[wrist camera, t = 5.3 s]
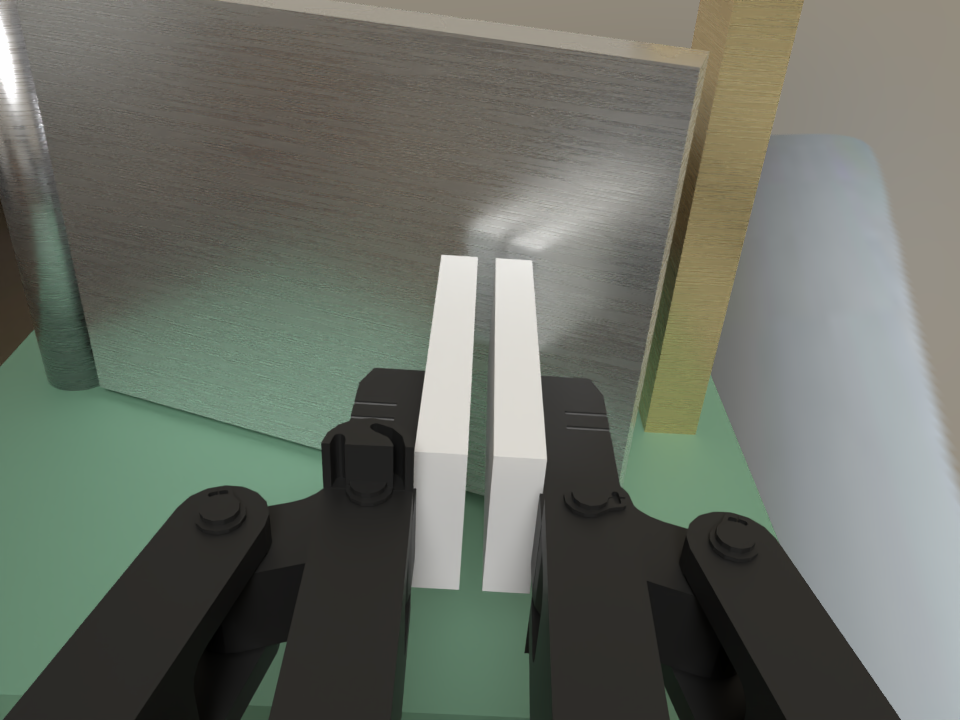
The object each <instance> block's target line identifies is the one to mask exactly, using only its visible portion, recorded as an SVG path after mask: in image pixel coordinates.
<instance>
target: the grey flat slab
mask: <svg viewBox="0 0 960 720" xmlns="http://www.w3.org/2000/svg"><path fill="white" fill-rule="evenodd" d="M16 4H17V9H18V13H19V18H20V22H21V27H22V32H23V36H24V41H25V45H26V50H27V55H28V59H29V64H30V68H31V73H32V77H33V82H34V87H35V91H36V96H37V100H38V105H39V109H40V114H41V119H42V123H43V128H44V132H45V137H46V141H47V146H48V151H49V155H50V160H51V164H52V169H53V173H54V178H55V183H56V187H57V192H58V196H59V201H60V205H61V210H62V215H63V219H64V224H65V228H66V233H67V238H68V242H69V247H70V251H71V256H72V260H73V265H74V270H75V274H76V279H77V283H78V288H79V292H80V297H81V302H82V306H83V311H84V315H85V320H86V324H87V329H88V334H89V338H90V343H91V347H92V352H93V356H94V361H95V366H96V370H97V375H98V379H99V384H100V387H102V388H106V389H109V390H113V391H116V392H120V393H123V394H127V395H130V396H134V397H137V398H141V399H145V400H148V401H152V402H155V403H159V404H162V405H166V406H169V407H173V408H176V409H180V410H183V411H187V412H190V413H194V414H197V415H201V416H204V417H208V418H211V419H215V420H218V421H222V422H225V423H229V424H232V425H236V426H239V427H243V428H246V429H250V430H254V431H257V432H261V433H264V434H268V435H271V436H275V437H278V438H282V439H285V440H289V441H292V442H296V443H299V444H303V445H306V446H310V447H313V448H317V449H320V450H321V442H322V441H323V439H324V437H325V436H326V434H327V432H329V431H330V430H332V429H333V428H335V427H336V426H337V425H339V424H341V423H345V422H348V421H349V420H350V419H351V412H352V408H353V404H354V401H355V397H356V393H357V389H358V385H359V382H360V381H361V380H362V379H363V378H364V377H365V376H366V375H367V374H368V373H370V372H371V371H372V370H373V369H374V368H389V369H405V370H422V371H426V363H427V356H428V349H429V342H430V334H431V327H432V320H433V313H434V305H435V298H436V291H437V284H438V276H439V269H440V262H441V255H453V256H469V257H478V265H477V284H476V304H475V323H474V343H473V363H472V382H471V402H470V421H469V441H468V459H467V475H466V490H465V491H468V492H472V493H475V494H479V495H482V496H484V491H485V449H486V407H487V367H488V354H489V341H490V328H491V314H492V301H493V288H494V275H495V261H496V258H502V259H518V260H532V266H533V279H534V292H535V306H536V319H537V332H538V346H539V359H540V372H541V376H554V377H571V378H587V379H590V380H591V381H592V382H593V384H594V385H595V386H596V387H597V388H598V390H599V391H600V392H601V393H602V394H603V395H604V401H605V406H606V412H607V417H608V423H609V428H610V429H609V432H610V433H611V439H612V444H613V450H614V455H615V460H616V466H617V471H618V477H619V482H620V486H621V487H622V488H623V483H624V478H625V473H626V468H627V463H628V458H629V453H630V448H631V443H632V438H633V433H634V428H635V423H636V418H637V413H638V408H639V403H640V398H641V393H642V388H643V383H644V378H645V373H646V368H647V363H648V358H649V353H650V348H651V343H652V338H653V333H654V328H655V323H656V318H657V313H658V308H659V303H660V298H661V293H662V288H663V283H664V278H665V273H666V268H667V263H668V258H669V253H670V248H671V243H672V238H673V233H674V228H675V223H676V218H677V213H678V208H679V203H680V198H681V193H682V188H683V183H684V178H685V173H686V168H687V163H688V158H689V153H690V148H691V143H692V138H693V133H694V128H695V123H696V118H697V113H698V108H699V103H700V97H701V92H702V87H703V82H704V77H705V72H706V67H707V62H708V57H709V52H710V51H705V50H698V49H690V48H682V47H675V46H668V45H660V44H653V43H645V42H637V41H630V40H623V39H615V38H608V37H600V36H593V35H585V34H578V33H570V32H563V31H556V30H548V29H541V28H533V27H525V26H519V25H511V24H504V23H496V22H488V21H481V20H474V19H466V18H459V17H451V16H444V15H436V14H429V13H421V12H413V11H407V10H399V9H391V8H384V7H377V6H369V5H362V4H354V3H346V2H339V1H331V0H16Z"/></svg>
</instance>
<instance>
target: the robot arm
mask: <svg viewBox="0 0 960 720" xmlns="http://www.w3.org/2000/svg"><path fill="white" fill-rule="evenodd" d="M477 265H478V257H469V256H453V255H441V262H440V269H439V276H438V284H437V291H436V298H435V305H434V313H433V320H432V327H431V334H430V342H429V349H428V356H427V363H426V371H422V370H405V369H389V368H374V369H373V370H372V371H371V372H370V373H368V374H367V375H366V376H365V377H364V378H363V379H362V380H361V381H360V382H359V385H358V389H357V393H356V397H355V401H354V404H353V408H352V412H351V419H350V420H349V421H348V422H345V423H341V424H339V425H337V426H336V427H335V428H333V429H332V430H330V431H329V432H327V434H326V436H325V437H324V439H323V441H322V442H321V453H322V472H323V489H321V490H320V491H319V492H317V493H316V494H313V495H311V496H309V497H307V498H304V499H301V500H297V501H293V502H289V503H283V504H277V505H272V506H268V505H267V501H266V500H265V499H264V498H263V497H262V496H261V495H260V494H259V493H258V492H256V491H253V490H251V489H248V488H246V487H243V486H230V485H224V486H218V487H213V488H207V489H205V490H203V491H200V492H198V493H196V494H194V495H191V496H190V497H189V498H187V499H186V500H185V501H184V502H183V503H182V504H180V505H179V506H178V507H177V508H176V510H175V511H174V512H173V513H172V514H171V516H170V517H169V518H168V519H167V521H166V522H165V523H164V524H163V525H162V527H161V528H160V529H159V530H158V531H157V533H156V534H155V535H154V536H153V538H152V539H151V540H150V541H149V542H148V544H147V545H146V546H145V547H144V548H143V550H142V551H141V552H140V553H139V555H138V556H137V557H136V558H135V559H134V561H133V562H132V563H131V564H130V566H129V567H128V568H127V569H126V570H125V572H124V573H123V574H122V575H121V576H120V578H119V579H118V580H117V581H116V583H115V584H114V585H113V586H112V587H111V589H110V590H109V591H108V592H107V593H106V595H105V596H104V597H103V598H102V600H101V601H100V602H99V603H98V604H97V606H96V607H95V608H94V609H93V610H92V612H91V613H90V614H89V615H88V617H87V618H86V619H85V620H84V621H83V623H82V624H81V625H80V626H79V628H78V629H77V630H76V631H75V632H74V634H73V635H72V636H71V637H70V638H69V640H68V641H67V642H66V643H65V645H64V646H63V647H62V648H61V649H60V651H59V652H58V653H57V654H56V655H55V657H54V658H53V659H52V660H51V662H50V663H49V664H48V665H47V666H46V668H45V669H44V670H43V671H42V672H41V674H40V675H39V676H38V677H37V679H36V680H35V681H34V682H33V683H32V685H31V686H30V687H29V688H28V690H27V691H26V692H25V693H24V694H23V696H22V697H21V698H20V699H19V700H18V702H17V703H16V704H15V705H14V707H13V708H12V709H11V710H10V711H9V713H8V714H7V715H6V716H5V717H4V719H3V720H241V718H242V716H243V714H244V712H245V710H246V709H247V707H248V705H249V703H250V701H251V699H252V698H253V696H254V694H255V692H256V690H257V689H258V687H259V685H260V683H261V681H262V679H263V678H264V676H265V674H266V672H267V670H268V669H269V667H270V665H271V663H272V661H273V659H274V658H275V656H276V654H277V652H278V649H279V646H280V643H283V642H287V643H286V647H285V652H284V656H283V660H282V664H281V669H280V673H279V677H278V681H277V685H276V690H275V694H274V698H273V702H272V707H271V711H270V715H269V719H268V720H401V717H402V705H403V694H404V682H405V671H406V659H407V648H408V636H409V624H410V610H411V587H419V588H437V589H454V590H459V582H460V567H461V551H462V536H463V521H464V505H465V490H466V475H467V459H468V441H469V421H470V402H471V382H472V363H473V343H474V323H475V304H476V284H477ZM609 429H610V428H609V423H608V417H607V412H606V406H605V401H604V395H603V394H602V393H601V392H600V391H599V390H598V388H597V387H596V386H595V385H594V384H593V382H592V381H591V380H590V379H587V378H571V377H554V376H541V372H540V359H539V346H538V332H537V319H536V306H535V292H534V279H533V266H532V260H518V259H502V258H496V261H495V275H494V288H493V301H492V314H491V328H490V341H489V354H488V367H487V407H486V449H485V491H484V533H483V575H482V591H491V592H509V593H527V594H530V587H531V580H532V599H531V607H530V614H529V622H528V629H527V637H526V645H525V652H524V653H528V654H529V697H530V720H670V717H669V711H668V705H667V699H666V693H665V689H666V691H667V693H668V695H669V698H670V700H671V702H672V704H673V707H674V709H675V711H676V713H677V716H678V718H679V720H901V719H900V718H899V716H898V715H897V713H896V712H895V710H894V709H893V707H892V706H891V705H890V703H889V702H888V700H887V699H886V697H885V696H884V694H883V693H882V691H881V690H880V689H879V687H878V686H877V684H876V683H875V681H874V680H873V678H872V677H871V676H870V674H869V673H868V671H867V670H866V668H865V667H864V665H863V664H862V662H861V661H860V660H859V658H858V657H857V655H856V654H855V652H854V651H853V649H852V648H851V647H850V645H849V644H848V642H847V641H846V639H845V638H844V636H843V635H842V634H841V632H840V631H839V629H838V628H837V626H836V625H835V623H834V622H833V620H832V619H831V618H830V616H829V615H828V613H827V612H826V610H825V609H824V607H823V606H822V605H821V603H820V602H819V600H818V599H817V597H816V596H815V594H814V593H813V591H812V590H811V589H810V587H809V586H808V584H807V583H806V581H805V580H804V578H803V577H802V576H801V574H800V573H799V571H798V570H797V568H796V567H795V565H794V564H793V563H792V561H791V560H790V558H789V557H788V555H787V554H786V552H785V551H784V549H783V548H782V547H781V545H780V544H779V542H778V541H777V539H776V538H775V537H774V536H773V535H772V534H771V533H770V532H769V531H768V530H767V529H766V528H765V527H764V526H762V525H761V524H759V523H757V522H755V521H754V520H752V519H750V518H748V517H745V516H742V515H738V514H735V513H732V512H710V513H706V514H702V515H699V516H698V517H697V518H695V519H694V520H693V521H692V522H691V523H689V527H688V529H687V528H684V527H680V526H677V525H673V524H670V523H667V522H663V521H661V520H658V519H655V518H653V517H650V516H649V515H647V514H645V513H643V512H642V511H640V510H638V509H637V508H636V507H635V506H634V505H633V502H632V500H631V498H630V496H629V494H628V493H627V492H626V491H625V490H624V489H623V488H622V487H621V486H620V482H619V477H618V471H617V466H616V460H615V455H614V450H613V444H612V439H611V433H610V432H609ZM664 686H665V687H664Z"/></svg>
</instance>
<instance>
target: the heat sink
mask: <svg viewBox="0 0 960 720" xmlns="http://www.w3.org/2000/svg"><path fill="white" fill-rule="evenodd" d="M803 2H804V0H700V5H699V10H698V16H697V21H696V26H695V31H694V37H693V42H692V47H691V49H698V50H705V51H710V52H709V57H708V62H707V67H706V72H705V77H704V82H703V87H702V92H701V97H700V103H699V108H698V113H697V118H696V123H695V128H694V133H693V138H692V143H691V148H690V153H689V158H688V163H687V168H686V173H685V178H684V183H683V188H682V193H681V198H680V203H679V208H678V213H677V218H676V223H675V228H674V233H673V238H672V243H671V248H670V253H669V258H668V263H667V268H666V273H665V278H664V283H663V288H662V293H661V298H660V303H659V308H658V313H657V318H656V323H655V328H654V333H653V338H652V343H651V348H650V353H649V358H648V363H647V368H646V373H645V378H644V383H643V388H642V393H641V398H640V403H639V408H638V409H639V413H640V417H641V421H642V425H643V429H644V432H651V433H669V434H688V435H695V434H696V430H697V426H698V422H699V418H700V414H701V410H702V406H703V402H704V398H705V394H706V390H707V386H708V382H709V378H710V374H711V370H712V366H713V362H714V358H715V354H716V350H717V346H718V342H719V338H720V334H721V330H722V326H723V322H724V318H725V314H726V310H727V306H728V302H729V298H730V294H731V290H732V286H733V282H734V278H735V274H736V270H737V266H738V262H739V258H740V254H741V250H742V246H743V242H744V238H745V234H746V230H747V226H748V222H749V218H750V214H751V210H752V206H753V202H754V198H755V194H756V190H757V186H758V182H759V178H760V174H761V170H762V166H763V162H764V158H765V154H766V150H767V146H768V142H769V138H770V134H771V130H772V126H773V122H774V118H775V114H776V110H777V106H778V102H779V98H780V94H781V90H782V86H783V82H784V78H785V74H786V70H787V65H788V61H789V58H790V54H791V50H792V46H793V42H794V38H795V34H796V30H797V25H798V22H799V18H800V14H801V10H802V6H803ZM0 199H1V203H2V206H3V210H4V214H5V218H6V222H7V226H8V230H9V234H10V237H11V241H12V245H13V249H14V253H15V257H16V261H17V265H18V268H19V272H20V276H21V280H22V284H23V288H24V292H25V296H26V299H27V303H28V307H29V311H30V315H31V319H32V323H33V327H34V330H35V334H36V338H37V342H38V346H39V350H40V354H41V358H42V361H43V365H44V369H45V373H46V377H47V380H48V383H49V384H50V385H51V386H53V387H54V388H57V389H60V390H65V391H82V390H88V389H92V388H95V387H98V386H100V384H99V379H98V375H97V370H96V366H95V361H94V356H93V352H92V347H91V343H90V338H89V334H88V329H87V324H86V320H85V315H84V311H83V306H82V302H81V297H80V292H79V288H78V283H77V279H76V274H75V270H74V265H73V260H72V256H71V251H70V247H69V242H68V238H67V233H66V228H65V224H64V219H63V215H62V210H61V205H60V201H59V196H58V192H57V187H56V183H55V178H54V173H53V169H52V164H51V160H50V155H49V151H48V146H47V141H46V137H45V132H44V128H43V123H42V119H41V114H40V109H39V105H38V100H37V96H36V91H35V87H34V82H33V77H32V73H31V68H30V64H29V59H28V55H27V50H26V45H25V41H24V36H23V32H22V27H21V22H20V18H19V13H18V9H17V4H16V0H0Z"/></svg>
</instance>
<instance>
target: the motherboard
mask: <svg viewBox="0 0 960 720" xmlns="http://www.w3.org/2000/svg"><path fill="white" fill-rule="evenodd" d="M224 485H230V486H243V487H246V488H248V489H251V490H253V491H256V492H258V493H259V494H260V495H261V496H262V497H263V498H264V499H265V500H266V501H267V505H268V506H272V505H277V504H283V503H289V502H293V501H297V500H301V499H304V498H307V497H309V496H311V495H313V494H316V493H317V492H319V491H320V490H321V489H323V472H322V453H321V450H320V449H317V448H313V447H310V446H306V445H303V444H299V443H296V442H292V441H289V440H285V439H282V438H278V437H275V436H271V435H268V434H264V433H261V432H257V431H254V430H250V429H246V428H243V427H239V426H236V425H232V424H229V423H225V422H222V421H218V420H215V419H211V418H208V417H204V416H201V415H197V414H194V413H190V412H187V411H183V410H180V409H176V408H173V407H169V406H166V405H162V404H159V403H155V402H152V401H148V400H145V399H141V398H137V397H134V396H130V395H127V394H123V393H120V392H116V391H113V390H109V389H106V388H102V387H100V386H98V387H95V388H92V389H88V390H82V391H65V390H60V389H57V388H54V387H53V386H51V385H50V384H49V383H48V380H47V377H46V373H45V369H44V365H43V361H42V358H41V354H40V350H39V346H38V342H37V338H36V334H35V330H33V331H32V332H31V333H30V335H29V336H28V337H27V338H26V339H25V340H24V341H23V342H22V343H21V344H20V346H19V347H18V348H17V349H16V350H15V351H14V352H13V353H12V354H11V356H10V357H9V358H8V359H7V360H6V361H5V362H4V363H3V364H2V366H1V367H0V720H3V719H4V717H5V716H6V715H7V714H8V713H9V711H10V710H11V709H12V708H13V707H14V705H15V704H16V703H17V702H18V700H19V699H20V698H21V697H22V696H23V694H24V693H25V692H26V691H27V690H28V688H29V687H30V686H31V685H32V683H33V682H34V681H35V680H36V679H37V677H38V676H39V675H40V674H41V672H42V671H43V670H44V669H45V668H46V666H47V665H48V664H49V663H50V662H51V660H52V659H53V658H54V657H55V655H56V654H57V653H58V652H59V651H60V649H61V648H62V647H63V646H64V645H65V643H66V642H67V641H68V640H69V638H70V637H71V636H72V635H73V634H74V632H75V631H76V630H77V629H78V628H79V626H80V625H81V624H82V623H83V621H84V620H85V619H86V618H87V617H88V615H89V614H90V613H91V612H92V610H93V609H94V608H95V607H96V606H97V604H98V603H99V602H100V601H101V600H102V598H103V597H104V596H105V595H106V593H107V592H108V591H109V590H110V589H111V587H112V586H113V585H114V584H115V583H116V581H117V580H118V579H119V578H120V576H121V575H122V574H123V573H124V572H125V570H126V569H127V568H128V567H129V566H130V564H131V563H132V562H133V561H134V559H135V558H136V557H137V556H138V555H139V553H140V552H141V551H142V550H143V548H144V547H145V546H146V545H147V544H148V542H149V541H150V540H151V539H152V538H153V536H154V535H155V534H156V533H157V531H158V530H159V529H160V528H161V527H162V525H163V524H164V523H165V522H166V521H167V519H168V518H169V517H170V516H171V514H172V513H173V512H174V511H175V510H176V508H177V507H178V506H179V505H180V504H182V503H183V502H184V501H185V500H186V499H187V498H189V497H190V496H191V495H194V494H196V493H198V492H200V491H203V490H205V489H207V488H213V487H218V486H224ZM623 489H624V490H625V491H626V492H627V493H628V494H629V496H630V498H631V500H632V502H633V505H634V506H635V507H636V508H637V509H638V510H640V511H642V512H643V513H645V514H647V515H649V516H650V517H653V518H655V519H658V520H661V521H663V522H667V523H670V524H673V525H677V526H680V527H684V528H687V529H688V527H689V523H691V522H692V521H693V520H694V519H695V518H697V517H698V516H699V515H702V514H706V513H710V512H732V513H735V514H738V515H742V516H745V517H748V518H750V519H752V520H754V521H755V522H757V523H759V524H761V525H762V526H764V527H765V528H766V529H767V530H768V531H769V532H770V533H771V534H772V535H773V536H774V537H775V538H776V539H777V536H776V534H775V531H774V529H773V526H772V524H771V522H770V519H769V517H768V514H767V512H766V509H765V507H764V504H763V502H762V500H761V497H760V495H759V492H758V490H757V487H756V485H755V482H754V480H753V478H752V475H751V473H750V470H749V468H748V465H747V463H746V460H745V458H744V456H743V453H742V451H741V448H740V446H739V443H738V441H737V438H736V436H735V433H734V431H733V429H732V426H731V424H730V421H729V419H728V416H727V414H726V411H725V409H724V407H723V404H722V402H721V399H720V397H719V394H718V392H717V389H716V387H715V385H714V382H713V380H712V377H711V375H710V378H709V382H708V386H707V390H706V394H705V398H704V402H703V406H702V410H701V414H700V418H699V422H698V426H697V430H696V434H695V435H688V434H669V433H651V432H644V429H643V425H642V421H641V417H640V413H639V409H638V413H637V418H636V423H635V428H634V433H633V438H632V443H631V448H630V453H629V458H628V463H627V468H626V473H625V478H624V483H623ZM483 533H484V496H482V495H479V494H475V493H472V492H468V491H465V505H464V521H463V536H462V551H461V567H460V582H459V590H454V589H437V588H419V587H411V610H410V624H409V636H408V648H407V659H406V671H405V682H404V694H403V705H402V717H401V720H530V697H529V654H528V653H524V652H525V645H526V637H527V629H528V622H529V614H530V607H531V599H532V580H531V587H530V594H527V593H509V592H491V591H482V575H483ZM777 541H778V539H777ZM778 542H779V541H778ZM286 643H287V642H283V643H280V646H279V649H278V652H277V654H276V656H275V658H274V659H273V661H272V663H271V665H270V667H269V669H268V670H267V672H266V674H265V676H264V678H263V679H262V681H261V683H260V685H259V687H258V689H257V690H256V692H255V694H254V696H253V698H252V699H251V701H250V703H249V705H248V707H247V709H246V710H245V712H244V714H243V716H242V718H241V720H268V719H269V715H270V711H271V707H272V702H273V698H274V694H275V690H276V685H277V681H278V677H279V673H280V669H281V664H282V660H283V656H284V652H285V647H286ZM664 687H665V686H664ZM665 693H666V699H667V705H668V711H669V717H670V720H679V718H678V716H677V713H676V711H675V709H674V707H673V704H672V702H671V700H670V698H669V695H668V693H667V691H666V689H665Z"/></svg>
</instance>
